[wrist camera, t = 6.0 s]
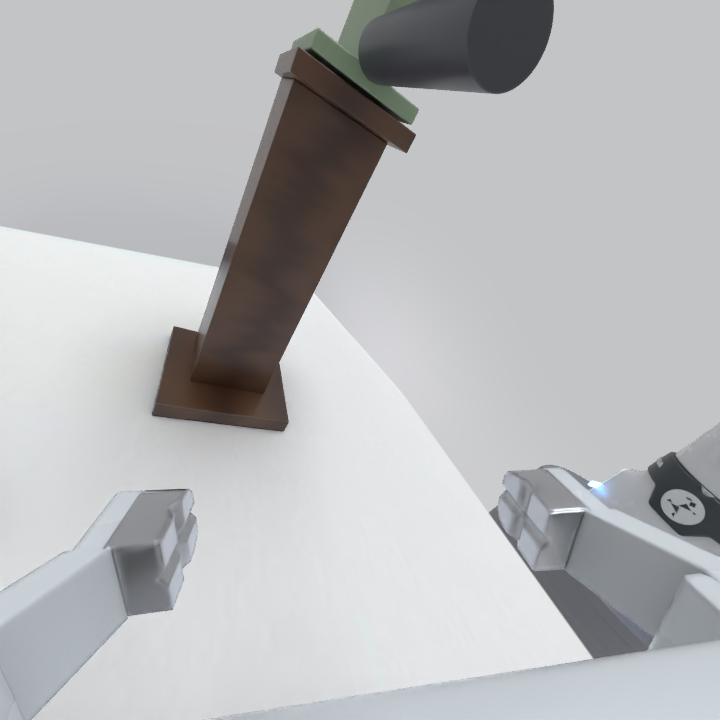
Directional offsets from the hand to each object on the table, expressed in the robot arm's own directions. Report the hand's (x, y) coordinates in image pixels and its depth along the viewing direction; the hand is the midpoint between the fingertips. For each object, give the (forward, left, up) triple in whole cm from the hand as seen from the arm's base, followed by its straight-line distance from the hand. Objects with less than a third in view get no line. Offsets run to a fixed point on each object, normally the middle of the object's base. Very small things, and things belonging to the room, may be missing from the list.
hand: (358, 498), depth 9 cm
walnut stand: (0, -20, -14) cm, 25 cm away
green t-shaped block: (0, -15, +9) cm, 18 cm away
